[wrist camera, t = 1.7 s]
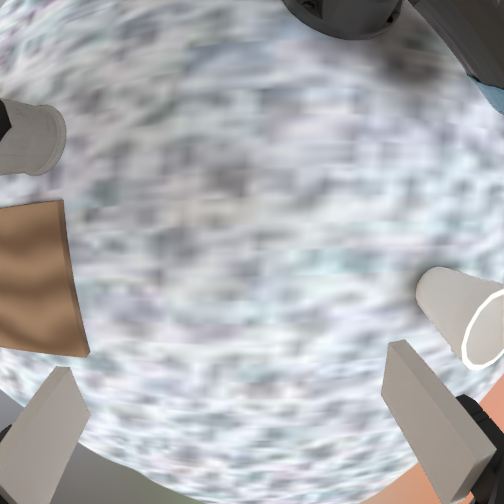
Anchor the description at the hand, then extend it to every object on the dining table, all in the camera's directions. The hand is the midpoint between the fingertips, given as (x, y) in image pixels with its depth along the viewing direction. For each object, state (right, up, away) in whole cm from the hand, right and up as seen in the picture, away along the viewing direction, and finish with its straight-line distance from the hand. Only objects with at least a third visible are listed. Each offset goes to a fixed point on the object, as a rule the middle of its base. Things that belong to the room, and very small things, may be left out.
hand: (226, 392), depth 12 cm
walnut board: (-31, +1, +23) cm, 39 cm away
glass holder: (-26, +21, +19) cm, 38 cm away
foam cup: (+25, +1, +27) cm, 37 cm away
